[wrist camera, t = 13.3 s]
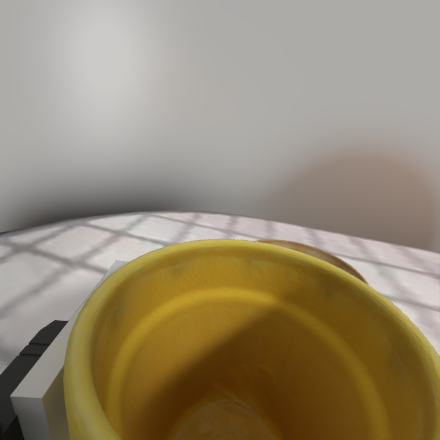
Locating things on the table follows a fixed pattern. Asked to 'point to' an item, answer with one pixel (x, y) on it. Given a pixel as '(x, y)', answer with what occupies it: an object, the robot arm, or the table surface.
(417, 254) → the table surface
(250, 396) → the plant pot
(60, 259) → the table surface
